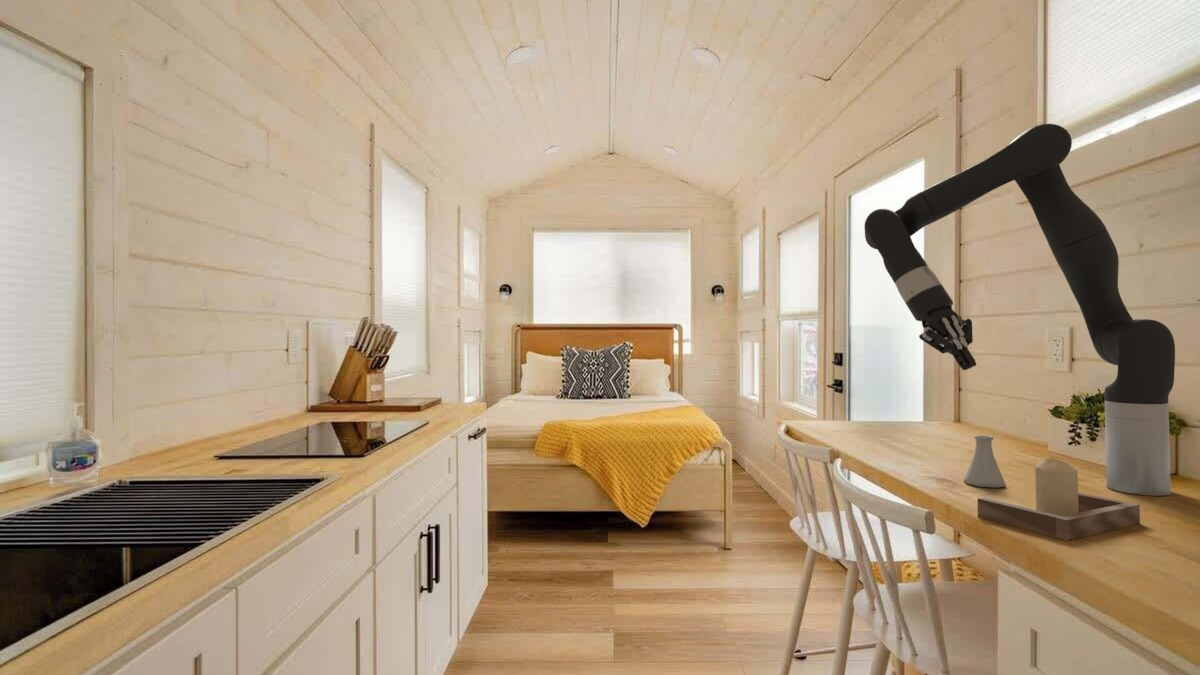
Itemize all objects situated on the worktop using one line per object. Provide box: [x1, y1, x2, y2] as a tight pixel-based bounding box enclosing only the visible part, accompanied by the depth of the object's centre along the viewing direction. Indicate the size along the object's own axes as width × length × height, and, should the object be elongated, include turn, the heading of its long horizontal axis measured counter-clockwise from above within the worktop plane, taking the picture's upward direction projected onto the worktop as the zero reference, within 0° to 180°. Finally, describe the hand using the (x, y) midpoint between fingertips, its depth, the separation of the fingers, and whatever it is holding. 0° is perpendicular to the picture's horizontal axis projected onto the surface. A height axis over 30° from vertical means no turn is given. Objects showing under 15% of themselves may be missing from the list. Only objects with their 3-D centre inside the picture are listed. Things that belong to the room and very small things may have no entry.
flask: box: [963, 434, 1007, 489], centre depth 121 cm, size 7×7×10 cm
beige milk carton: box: [1034, 457, 1079, 516], centre depth 97 cm, size 6×6×10 cm
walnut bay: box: [977, 492, 1141, 541], centre depth 97 cm, size 19×14×3 cm
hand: (970, 367), depth 115 cm, fingers closed
